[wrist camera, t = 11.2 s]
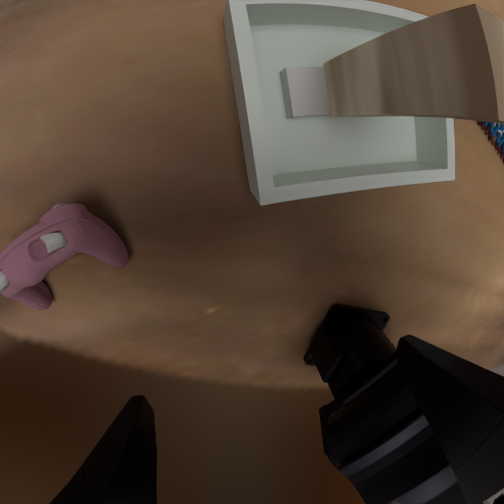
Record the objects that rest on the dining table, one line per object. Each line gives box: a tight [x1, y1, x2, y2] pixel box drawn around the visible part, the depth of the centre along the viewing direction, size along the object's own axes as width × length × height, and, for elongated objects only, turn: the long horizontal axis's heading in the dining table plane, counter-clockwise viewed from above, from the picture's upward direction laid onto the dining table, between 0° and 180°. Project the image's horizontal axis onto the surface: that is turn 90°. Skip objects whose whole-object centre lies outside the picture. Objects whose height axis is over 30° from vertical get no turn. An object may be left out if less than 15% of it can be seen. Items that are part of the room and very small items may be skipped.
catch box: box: [223, 0, 455, 205], centre depth 14 cm, size 14×12×4 cm
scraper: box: [279, 4, 504, 124], centre depth 10 cm, size 8×3×13 cm, turn 98°
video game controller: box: [0, 203, 128, 310], centre depth 15 cm, size 10×5×7 cm, turn 113°
